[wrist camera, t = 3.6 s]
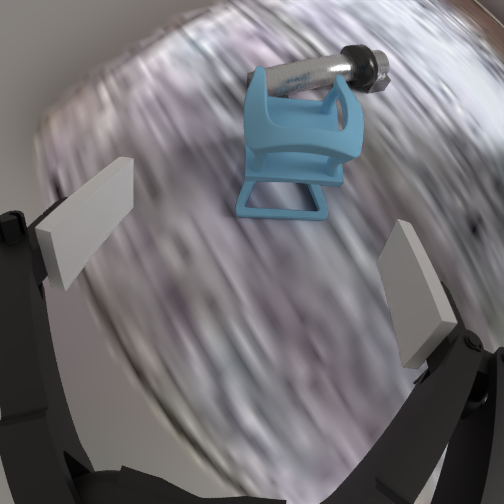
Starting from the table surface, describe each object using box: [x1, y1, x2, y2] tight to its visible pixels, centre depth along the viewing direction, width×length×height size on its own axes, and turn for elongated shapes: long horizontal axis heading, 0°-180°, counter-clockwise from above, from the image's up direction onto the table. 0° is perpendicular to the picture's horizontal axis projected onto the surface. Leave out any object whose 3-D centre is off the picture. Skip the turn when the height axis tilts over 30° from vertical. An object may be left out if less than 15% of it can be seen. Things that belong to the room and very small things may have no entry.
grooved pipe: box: [247, 45, 391, 99], centre depth 26 cm, size 14×5×5 cm, turn 112°
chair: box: [235, 66, 364, 221], centre depth 21 cm, size 8×8×12 cm
